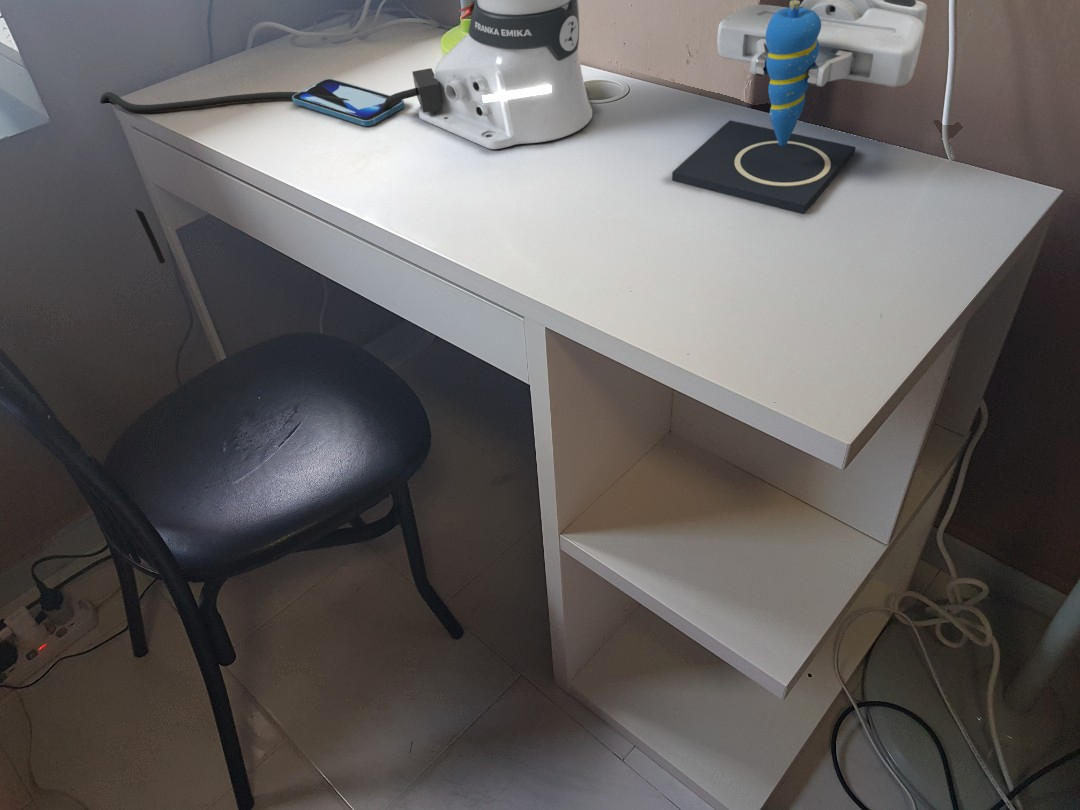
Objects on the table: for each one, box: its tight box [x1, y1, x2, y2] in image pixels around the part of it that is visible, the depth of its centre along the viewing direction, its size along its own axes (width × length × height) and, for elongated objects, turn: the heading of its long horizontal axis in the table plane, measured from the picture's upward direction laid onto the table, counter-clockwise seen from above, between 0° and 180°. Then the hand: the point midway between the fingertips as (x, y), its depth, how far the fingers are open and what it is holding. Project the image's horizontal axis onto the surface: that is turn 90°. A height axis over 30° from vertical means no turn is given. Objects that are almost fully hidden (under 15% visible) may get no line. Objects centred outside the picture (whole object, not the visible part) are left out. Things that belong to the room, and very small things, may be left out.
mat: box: [671, 119, 856, 214], centre depth 91 cm, size 15×14×1 cm
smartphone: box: [291, 78, 405, 127], centre depth 112 cm, size 7×1×15 cm
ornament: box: [766, 0, 821, 146], centre depth 83 cm, size 5×5×15 cm
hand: (786, 72), depth 82 cm, fingers closed on ornament, 4 cm apart
